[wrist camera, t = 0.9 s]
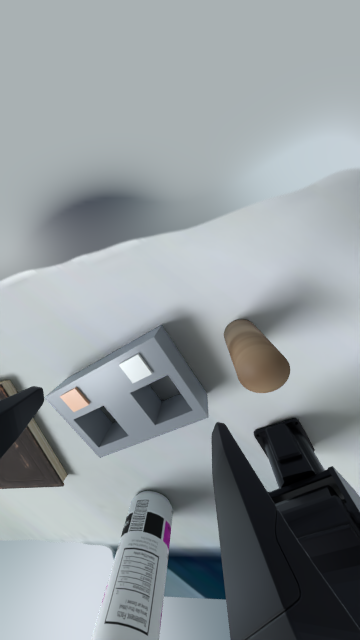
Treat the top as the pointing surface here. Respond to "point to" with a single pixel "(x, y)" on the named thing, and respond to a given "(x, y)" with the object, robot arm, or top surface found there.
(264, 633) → the robot arm
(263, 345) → the walnut peg
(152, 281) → the top surface
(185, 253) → the top surface
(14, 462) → the hardcover book
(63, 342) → the top surface
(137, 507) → the supplement can
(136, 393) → the socket block
